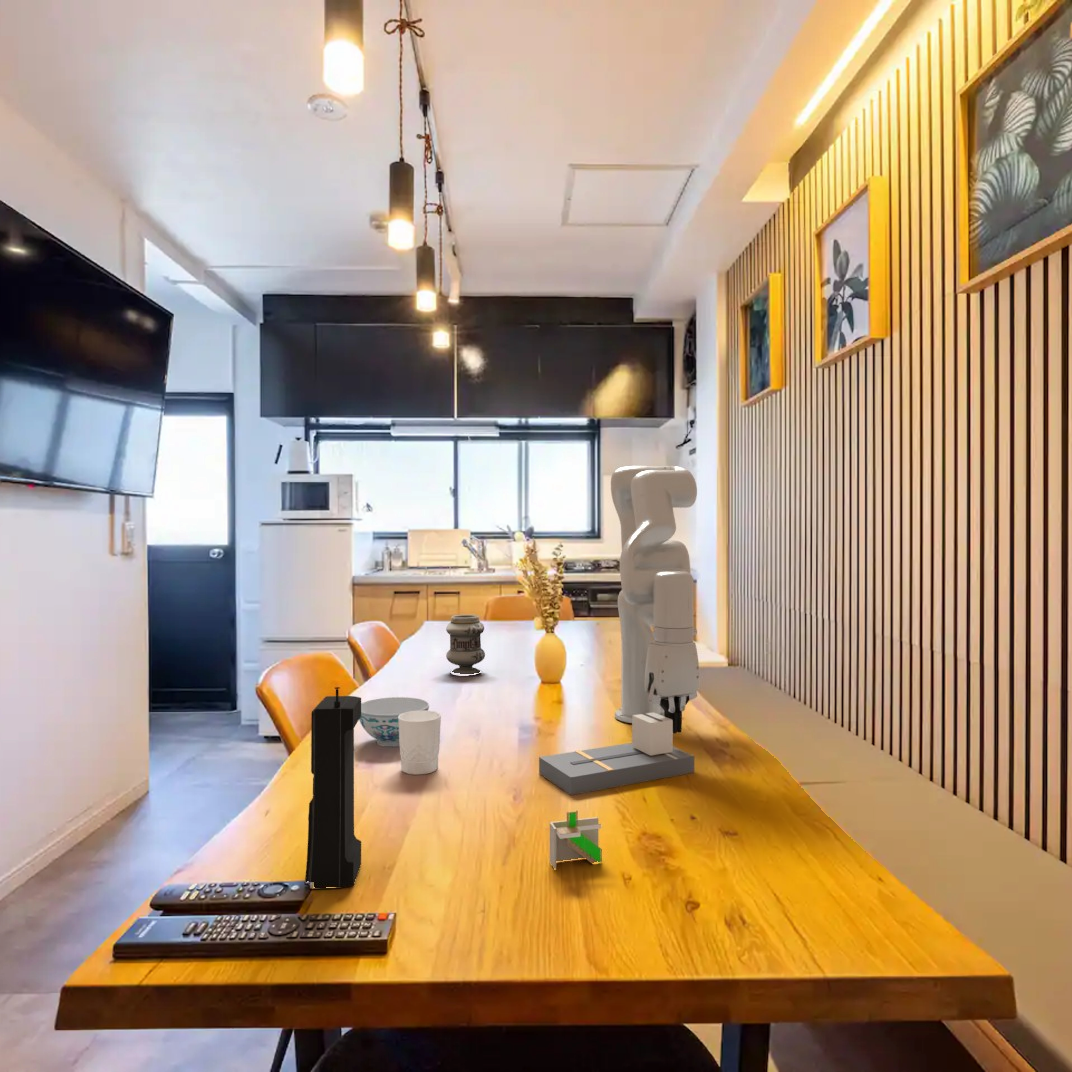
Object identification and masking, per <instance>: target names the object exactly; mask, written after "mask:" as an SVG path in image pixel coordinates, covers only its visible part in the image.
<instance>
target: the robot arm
mask: <svg viewBox="0 0 1072 1072" xmlns="http://www.w3.org/2000/svg"><path fill="white" fill-rule="evenodd" d="M610 492H611V498H612V499H611V500H612V502H613V506H614V508H615V511H616V514H617V516H618V520H619V523H620V535H621V537H620V539H621V540H620V541H621V553H620V555H619V556H620V557H619V573H620V576H619V577H620V584H621V590H620V591H619V594H618V597H617V609H618V616H619V622H620V623H619V624H620V635H621V636H620V637H621V640H620V641H621V645H620V647H621V651H620V652H621V670H620V671H621V678H620V679H621V688H620V689H621V692H620V693H621V694H620V695H621V698H620V699H621V700H620V701H621V704H620V705H621V707H620V708H618V709H617V710H615V711H614V718H615V719H616V720H618V721H621V722H623V723H627V724H628V723H629V724H632V715H639V714H642V713H645V714H646V713H656V714H659V715H662V716H664V717H667V718H669V719H672V720H673V734H677V733H678V734H680V733H682V728H683V727H682V726H683V712H685V709H686V705H687V704H688V703H689V702H690V701H692V700H694V699H696V698H697V697H698V691H699V688H700V663H699V655H698V649H697V645H696V642H694V636H697V632H698V630H697V628H695V627H694V578H693V575H692V574H691V564H690V563H691V559H690V554H689V551H688V548H687V546H686V545H685V544H684V543H683V542H681V541H679V540H670V539H671V538H672V537H673V536H674V535H675V533H676V530H677V523H676V518H675V514H674V513H675V512H674V508H680V509H681V508H685V509H686V508H690V507H692V506H694V504H695V502H696V500H697V498H698V497H697V495H698V488H697V482H696V479H695V477H694V475H693V474H692V473H691V471H690V470H688V469H686V468H684V467H682V466H678V465H677V466H676V465H630V466H629V465H628V466H622V467H619V468H617V469H616V470H614V471H613V472H612V475H611V478H610ZM651 627H653V629H652V628H651Z"/></svg>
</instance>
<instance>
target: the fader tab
mask: <svg viewBox="0 0 1072 1072" xmlns="http://www.w3.org/2000/svg"><path fill="white" fill-rule="evenodd" d="M631 729H632V730H631V743H632V747H634V748H636V749H638V750H640V751H642V752H644V753H646V754H648V755H650V756H651V755H657V754H663V753H669V752H673V747H674V745H673V740H674V739H673V738H674V735H673V734H674V733H673V720H672V719H669V718H667V717H664V716H662V715H659V714H656V713H646V714H645V713H642V714H639V715H632V723H631Z"/></svg>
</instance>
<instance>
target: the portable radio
mask: <svg viewBox="0 0 1072 1072" xmlns="http://www.w3.org/2000/svg"><path fill="white" fill-rule="evenodd" d="M334 689H335V695H334V696H332V695H331V696H328V695H327V696H324V698H323V699H322V700H321V701H319V703H318V704H317V705H316V706H315V707H314V708H313V709H312V711H311V713H310V714H311V719H310V720H311V721H310V722H311V725H310V726H311V728H310V729H311V732H310V736H311V738H310V743H311V744H310V749H311V752H310V754H311V755H310V756H311V757H310V758H311V759H310V762H311V763H310V768H311V769H310V772H311V774H312V775H313V777H312V795H313V796H312V798H311V800H310V802H309V803H308V815H307V816H308V817H307V818H308V823H307V824H308V826H307V827H308V829H307V830H308V831H307V848H306V849H307V850H306V851H307V853H306V868H305V878H304V882H305V881H306V882H307V881H309V882H314V887H315V888H326V887H343V888H346V887H345V886H348V887H350V886H349V885H352V886H355V884H354V882H355V883H356V881H355V879H356V880H357V878H356V877H358V875H359V872H360V869H361V866H362V840H360V839H358V838H357V837H356V835H355V727H356V725H357V723H358V722H360V720H359V719H360V717H361V703H362V697H359V696H354V695H339V689H341V686H340V687H338V686H335V687H334ZM360 865H361V866H360ZM359 868H360V869H359ZM358 871H359V872H358ZM357 874H358V875H357Z"/></svg>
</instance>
